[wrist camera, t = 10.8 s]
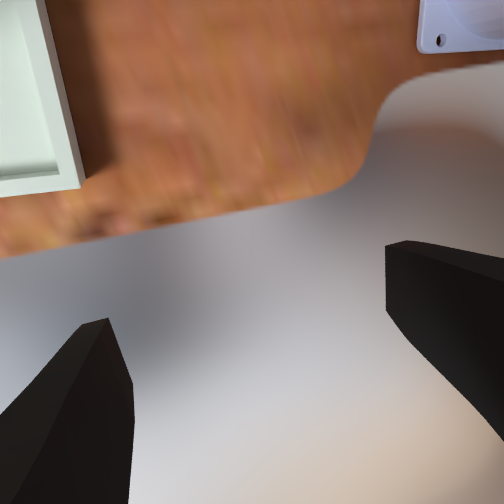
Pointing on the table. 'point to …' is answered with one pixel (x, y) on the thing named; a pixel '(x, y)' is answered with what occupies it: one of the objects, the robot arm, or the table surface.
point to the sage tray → (33, 106)
